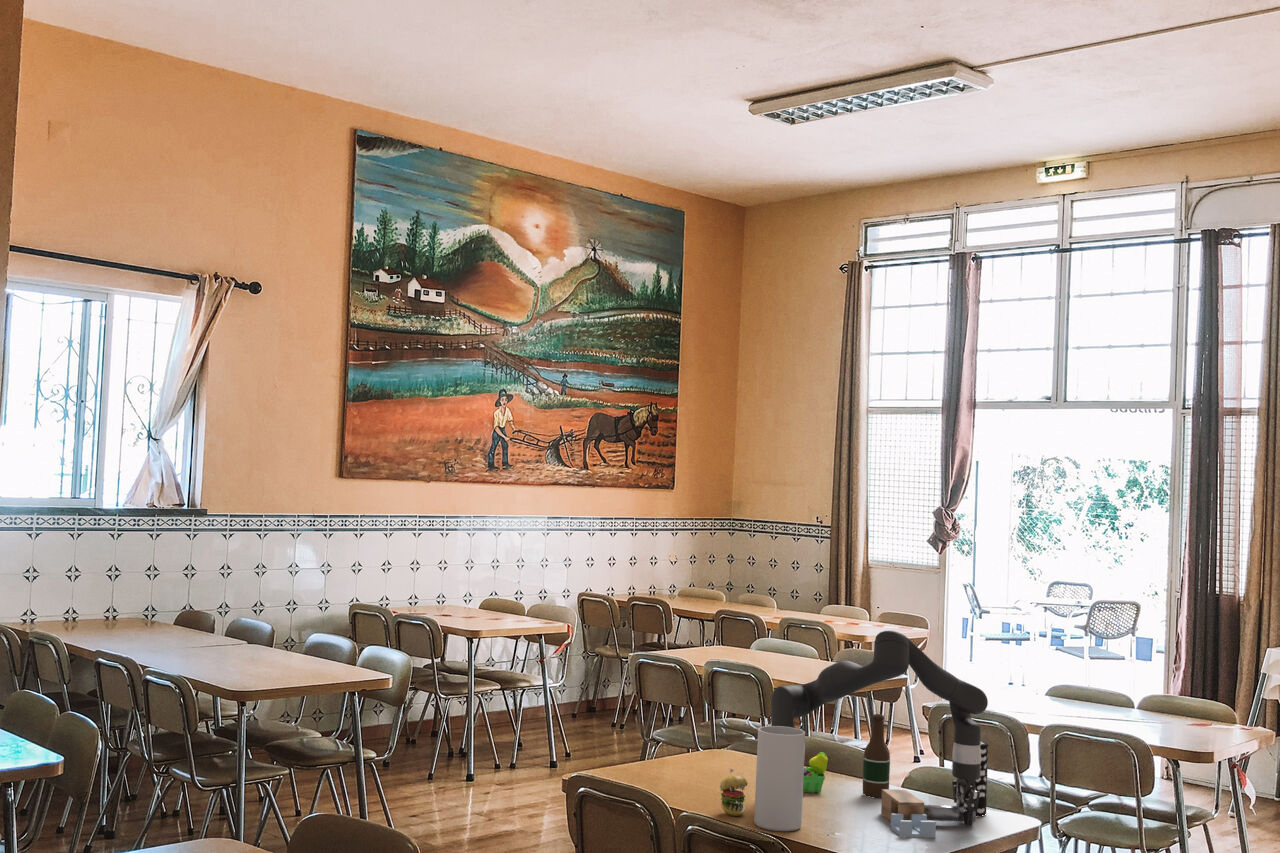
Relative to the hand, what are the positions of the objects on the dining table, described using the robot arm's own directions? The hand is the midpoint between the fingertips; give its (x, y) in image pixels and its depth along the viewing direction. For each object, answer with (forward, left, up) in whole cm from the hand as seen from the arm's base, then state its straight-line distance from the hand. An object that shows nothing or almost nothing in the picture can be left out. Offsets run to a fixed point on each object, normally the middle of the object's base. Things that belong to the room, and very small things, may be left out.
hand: (964, 823), depth 318 cm
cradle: (-18, -8, -1) cm, 20 cm away
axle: (-5, 0, +1) cm, 5 cm away
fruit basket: (-33, +38, -1) cm, 50 cm away
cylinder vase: (-54, -4, -1) cm, 54 cm away
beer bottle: (-15, +32, -1) cm, 35 cm away
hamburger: (-64, +7, -1) cm, 64 cm away
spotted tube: (+8, +14, -1) cm, 16 cm away
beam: (-17, +4, -1) cm, 17 cm away
